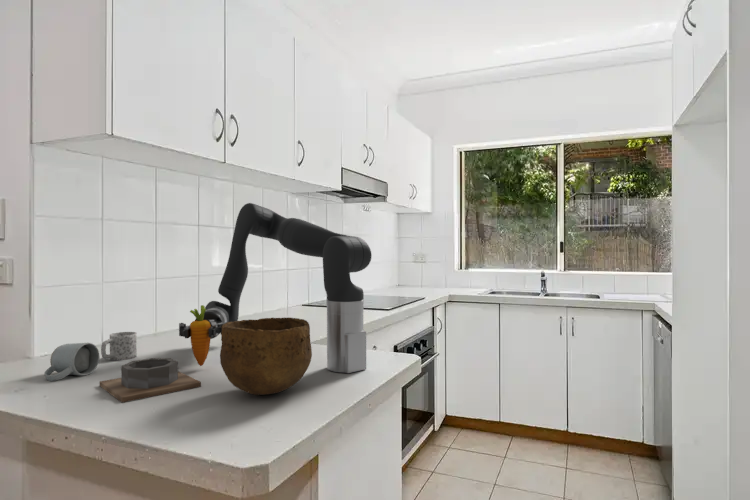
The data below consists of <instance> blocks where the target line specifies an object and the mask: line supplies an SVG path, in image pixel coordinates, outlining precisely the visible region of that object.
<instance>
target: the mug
mask: <svg viewBox="0 0 750 500" xmlns="http://www.w3.org/2000/svg"><path fill="white" fill-rule="evenodd" d="M137 337H138V335H137V332H135V331H120V332H115V333H110V334H109V338H108V339H106V340H104V341H102V342H101V347H100V354H101V358H102V359H105V360H106V359H107V360H108V359H109V360H110V361H126V360H132V359H135V358H137V355H138V353H137V349H138V348H137V344H138V343H137V340H138V339H137ZM108 344H109V353H108V354H107V352H106V351H107V350H106V349H107V345H108Z"/></svg>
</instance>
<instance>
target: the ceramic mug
mask: <svg viewBox="0 0 750 500" xmlns="http://www.w3.org/2000/svg"><path fill="white" fill-rule="evenodd" d="M49 361H50V366H49V367H48V368H47V369H45V371H44V376H45V378H46V380H47V381H49V382H54V381H58V380H61V379H64V378H65V377H67V376H69V375H72V376H79V377H80V376H84V377H85V376H88V375H91V374H92V373H93V372H94V371H95V370H96V369H97V367H98V365H99V362H100V351H99V349H98V347H97V345H95V344H94V343H93V342H75V343H64V344H62V345H59V346H57V347H56V348H54V350H53V352H52V353H51V355H50V359H49ZM54 372H55V374H53V373H54Z"/></svg>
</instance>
